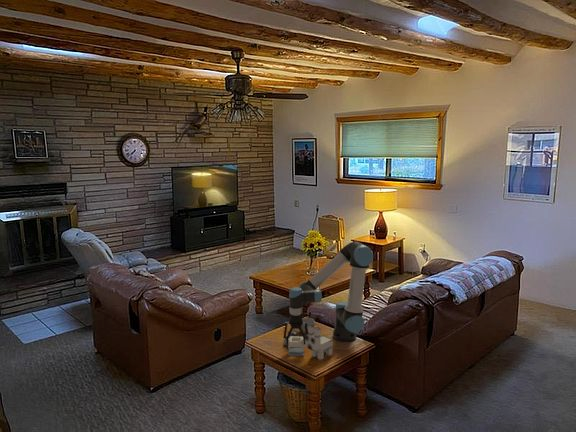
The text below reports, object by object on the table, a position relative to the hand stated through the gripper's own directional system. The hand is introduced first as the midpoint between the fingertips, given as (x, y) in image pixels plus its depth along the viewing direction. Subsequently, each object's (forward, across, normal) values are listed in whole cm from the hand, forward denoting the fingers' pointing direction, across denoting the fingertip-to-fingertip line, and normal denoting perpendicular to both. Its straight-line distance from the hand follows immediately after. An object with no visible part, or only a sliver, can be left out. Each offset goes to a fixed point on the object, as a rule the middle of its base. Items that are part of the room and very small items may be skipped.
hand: (296, 349), depth 259 cm
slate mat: (+2, 0, 0) cm, 2 cm away
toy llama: (+2, -15, +4) cm, 16 cm away
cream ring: (-3, 0, 0) cm, 3 cm away
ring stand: (+2, +3, -12) cm, 13 cm away
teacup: (+2, -5, -32) cm, 32 cm away
